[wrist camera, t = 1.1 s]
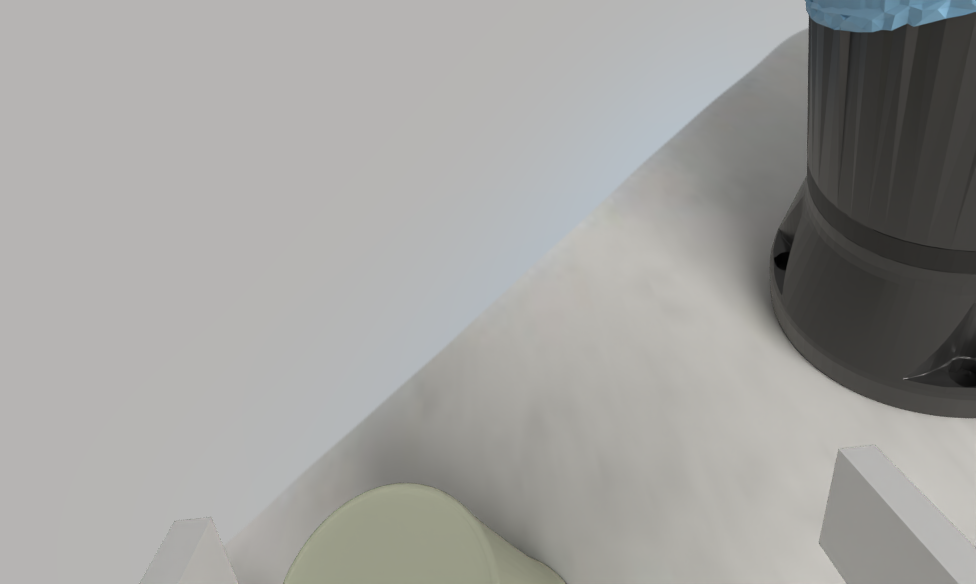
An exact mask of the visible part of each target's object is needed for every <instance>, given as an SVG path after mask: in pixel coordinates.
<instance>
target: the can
mask: <svg viewBox="0 0 976 584" xmlns="http://www.w3.org/2000/svg"><path fill="white" fill-rule="evenodd" d="M283 584H566V583H565V582H564V581H563V580H562V578H561V577H560V576H559V575H557V574H556V573H555V572H554V571H553V570H552V569H550V568H549V567H547V566H546V565H544V564H543V563H541V562H539V561H537V560H535V559H533V558H530V557H528V556H526V555H525V554H523V553H522V552H521V551H519V550H518V549H516V548H515V547H514V546H512V545H511V544H510V543H508V542H507V541H506V540H504V539H503V538H502V537H500V536H499V535H498V534H496V533H495V532H494V531H492V530H491V529H490V528H488V527H487V526H486V525H484V524H483V523H482V522H481V521H479V520H478V519H477V518H476V517H474V516H473V515H472V514H471V512H470V511H469V510H468V509H467V508H466V507H465V506H464V505H462V504H461V503H460V502H459V501H458V500H456V499H455V498H453V497H452V496H450V495H448V494H447V493H445V492H443V491H441V490H439V489H436V488H433V487H430V486H427V485H423V484H416V483H396V484H389V485H385V486H380V487H377V488H374V489H372V490H369V491H366V492H364V493H362V494H360V495H358V496H357V497H355V498H353V499H351V500H350V501H348V502H346V503H345V504H344V505H342V506H341V507H340V508H338V509H337V510H336V511H334V512H333V513H332V514H331V515H330V516H329V517H328V518H327V519H326V520H325V521H324V522H323V523H322V524H321V525H320V526H319V527H318V528H317V529H316V530H315V531H314V533H313V534H312V535H311V536H310V538H309V539H308V540H307V542H306V543H305V544H304V546H303V547H302V549H301V550H300V552H299V553H298V555H297V556H296V558H295V560H294V562H293V564H292V565H291V567H290V569H289V571H288V573H287V575H286V577H285V580H284V582H283Z"/></svg>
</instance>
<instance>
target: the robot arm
mask: <svg viewBox="0 0 976 584" xmlns="http://www.w3.org/2000/svg"><path fill="white" fill-rule="evenodd" d="M805 1H806V10H807V12H808V14H809V55H808V137H807V157H808V158H807V176H806V178H805V180H804V182H803V184H802V186H801V188H800V190H799V192H798V193H797V195H796V197H795V199H794V201H793V203H792V205H791V207H790V209H789V210H788V212H787V214H786V216H785V218H784V220H783V222H782V224H781V226H780V228H779V229H778V232H777V234H776V237H775V239H774V243H773V246H772V251H771V257H770V287H771V298H772V303H773V308H774V311H775V314H776V317H777V319H778V321H779V323H780V325H781V327H782V329H783V331H784V333H785V334H786V336H787V337H788V339H789V340H790V341H791V343H792V344H793V345H794V346H795V348H796V349H797V350H798V351H799V352H800V353H801V354H802V355H803V356H804V357H805V358H806V359H807V360H808V361H809V362H810V363H811V364H812V365H814V366H815V367H816V368H817V369H819V370H820V371H821V372H823V373H824V374H826V375H827V376H828V377H830V378H831V379H833V380H835V381H836V382H838V383H839V384H841V385H843V386H845V387H847V388H849V389H850V390H852V391H854V392H857V393H859V394H861V395H863V396H865V397H868V398H870V399H873V400H876V401H878V402H881V403H884V404H887V405H890V406H893V407H897V408H901V409H904V410H909V411H913V412H918V413H923V414H929V415H936V416H945V417H957V418H976V0H805ZM819 544H820V546H821V547H822V549H823V550H824V552H825V553H826V554H827V556H828V557H829V559H830V560H831V562H832V563H833V565H834V566H835V567H836V569H837V570H838V572H839V573H840V575H841V576H842V578H843V579H844V580H845V582H846V583H847V584H976V547H975V546H974V545H973V544H972V543H971V542H970V541H969V540H968V539H967V538H966V537H965V536H964V535H963V534H962V533H961V532H960V531H959V530H958V529H957V528H956V527H955V526H954V525H953V524H952V523H951V522H950V521H949V520H948V519H947V518H946V517H945V516H944V515H943V514H942V512H941V511H940V510H939V509H938V508H937V507H936V506H935V505H934V504H933V503H932V502H931V501H930V500H929V499H928V498H927V497H926V496H925V495H924V494H923V493H922V492H921V491H920V490H919V489H918V488H917V487H916V486H915V485H914V484H913V483H912V482H911V481H910V480H909V479H908V478H907V477H906V476H905V475H904V474H903V473H902V472H901V471H900V470H899V469H898V468H897V467H896V466H895V465H894V464H893V463H892V462H891V461H890V460H889V459H888V458H887V457H886V456H885V455H884V454H883V453H882V452H881V451H880V449H879V448H878V447H877V446H876V445H869V446H860V447H851V448H842V449H838V454H837V458H836V463H835V468H834V473H833V477H832V482H831V487H830V492H829V496H828V501H827V506H826V511H825V515H824V520H823V525H822V530H821V535H820V539H819ZM139 584H239V583H238V581H237V578H236V576H235V573H234V571H233V569H232V566H231V564H230V561H229V559H228V556H227V554H226V552H225V549H224V547H223V544H222V542H221V539H220V537H219V534H218V532H217V530H216V527H215V525H214V522H213V520H212V518H211V517H207V518H198V519H189V520H179V521H174V523H173V525H172V527H171V528H170V530H169V532H168V534H167V535H166V537H165V539H164V541H163V543H162V544H161V546H160V548H159V550H158V551H157V553H156V555H155V557H154V559H153V560H152V562H151V564H150V565H149V567H148V569H147V571H146V573H145V574H144V576H143V578H142V580H141V581H140V583H139Z"/></svg>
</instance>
